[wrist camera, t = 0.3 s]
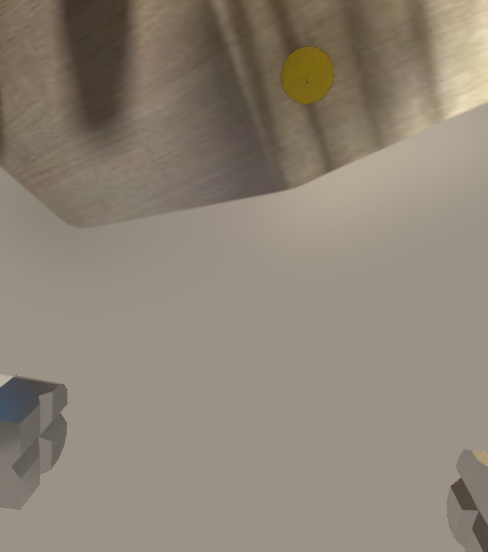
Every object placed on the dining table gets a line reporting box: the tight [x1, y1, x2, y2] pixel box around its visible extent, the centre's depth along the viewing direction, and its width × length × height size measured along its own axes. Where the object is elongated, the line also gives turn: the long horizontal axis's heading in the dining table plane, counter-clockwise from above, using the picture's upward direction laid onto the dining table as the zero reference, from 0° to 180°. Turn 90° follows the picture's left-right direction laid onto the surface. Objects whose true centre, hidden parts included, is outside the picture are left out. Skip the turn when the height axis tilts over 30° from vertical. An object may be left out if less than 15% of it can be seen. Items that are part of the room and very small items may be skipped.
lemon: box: [281, 46, 334, 104], centre depth 49 cm, size 6×6×8 cm
